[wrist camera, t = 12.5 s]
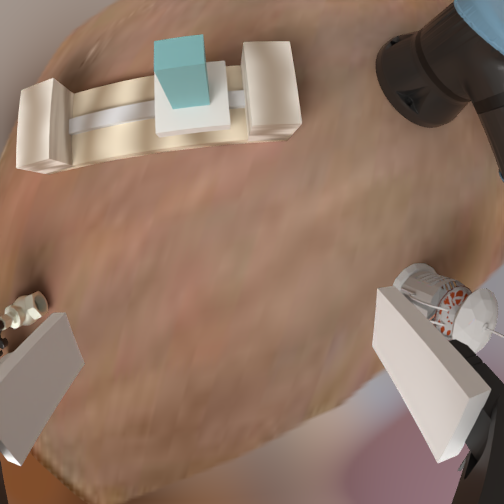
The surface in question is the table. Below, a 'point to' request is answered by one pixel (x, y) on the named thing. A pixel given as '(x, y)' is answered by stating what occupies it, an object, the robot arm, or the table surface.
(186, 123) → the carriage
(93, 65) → the table surface
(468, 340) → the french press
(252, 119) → the rail board
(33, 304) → the valve
